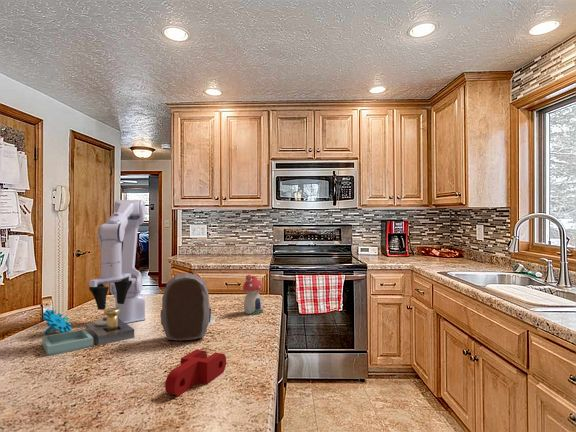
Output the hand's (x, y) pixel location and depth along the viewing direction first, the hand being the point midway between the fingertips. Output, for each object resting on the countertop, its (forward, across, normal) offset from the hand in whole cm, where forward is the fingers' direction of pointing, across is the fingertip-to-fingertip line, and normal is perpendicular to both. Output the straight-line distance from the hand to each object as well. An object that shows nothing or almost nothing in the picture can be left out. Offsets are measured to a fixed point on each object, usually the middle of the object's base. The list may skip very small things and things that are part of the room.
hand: (111, 306), depth 113 cm
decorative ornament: (+10, -40, +29) cm, 51 cm away
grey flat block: (+9, -2, -2) cm, 10 cm away
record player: (+10, -26, +14) cm, 31 cm away
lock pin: (+9, 0, 0) cm, 9 cm away
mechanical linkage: (+10, +18, +42) cm, 47 cm away
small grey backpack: (+10, -7, +22) cm, 25 cm away
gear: (+10, +2, -20) cm, 22 cm away
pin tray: (+9, +10, -6) cm, 15 cm away
